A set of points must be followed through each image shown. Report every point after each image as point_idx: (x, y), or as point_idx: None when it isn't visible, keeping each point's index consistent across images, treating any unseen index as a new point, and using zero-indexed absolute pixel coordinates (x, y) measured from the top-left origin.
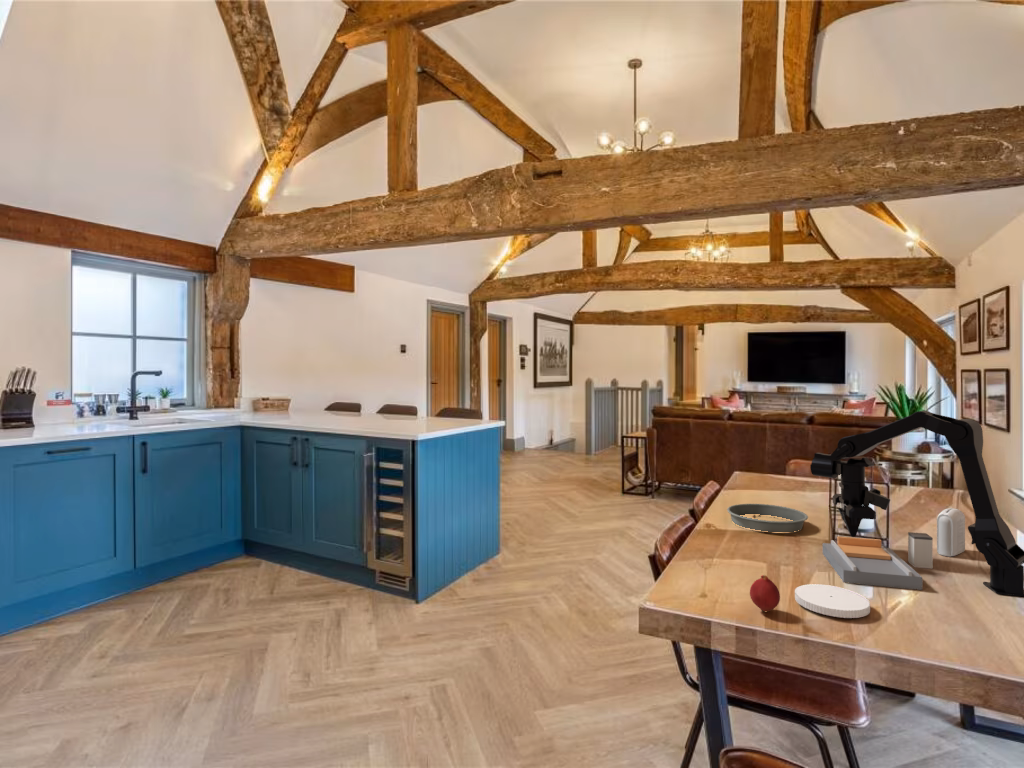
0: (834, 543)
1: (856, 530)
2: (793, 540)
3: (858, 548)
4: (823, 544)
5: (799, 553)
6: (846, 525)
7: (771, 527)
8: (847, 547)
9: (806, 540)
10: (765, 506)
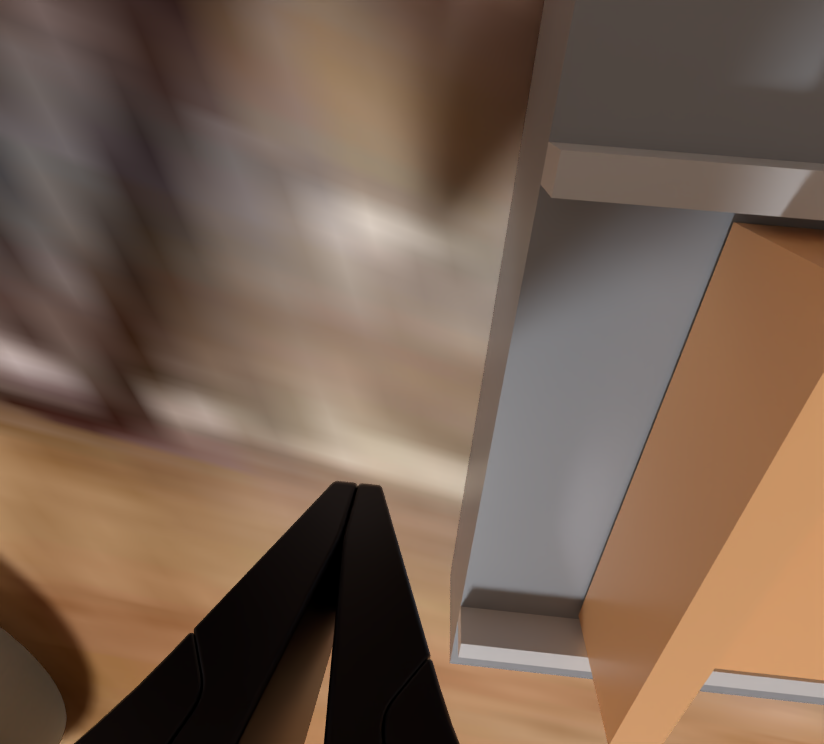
0: (584, 667)
1: (405, 582)
2: (165, 632)
3: (817, 555)
4: (489, 664)
5: (472, 673)
6: (308, 723)
7: (34, 732)
8: (757, 630)
9: (118, 570)
10: None
